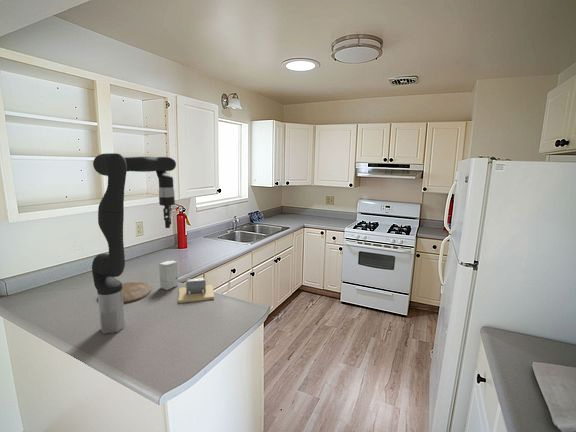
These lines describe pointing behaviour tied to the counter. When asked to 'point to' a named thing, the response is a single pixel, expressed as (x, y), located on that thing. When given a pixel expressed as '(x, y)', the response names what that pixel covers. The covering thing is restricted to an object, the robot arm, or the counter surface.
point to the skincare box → (168, 274)
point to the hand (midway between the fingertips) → (168, 226)
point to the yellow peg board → (196, 295)
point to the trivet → (135, 291)
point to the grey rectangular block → (195, 286)
